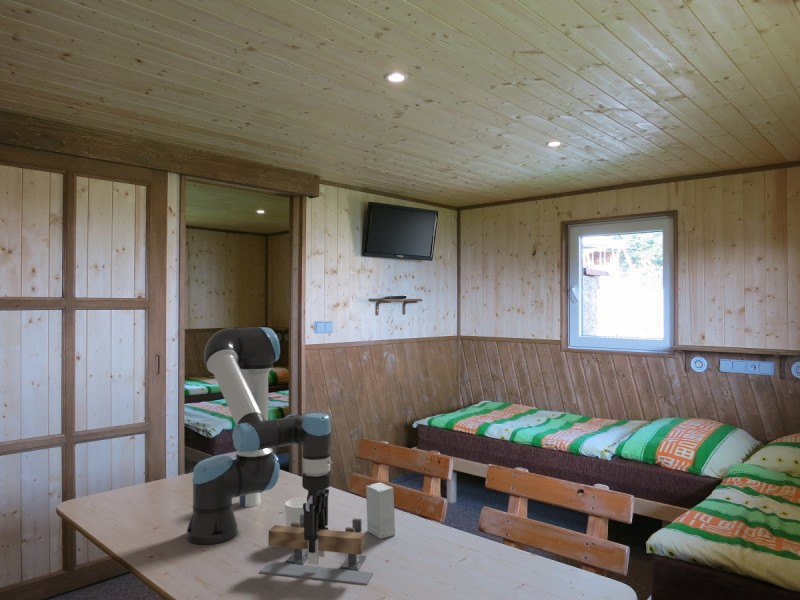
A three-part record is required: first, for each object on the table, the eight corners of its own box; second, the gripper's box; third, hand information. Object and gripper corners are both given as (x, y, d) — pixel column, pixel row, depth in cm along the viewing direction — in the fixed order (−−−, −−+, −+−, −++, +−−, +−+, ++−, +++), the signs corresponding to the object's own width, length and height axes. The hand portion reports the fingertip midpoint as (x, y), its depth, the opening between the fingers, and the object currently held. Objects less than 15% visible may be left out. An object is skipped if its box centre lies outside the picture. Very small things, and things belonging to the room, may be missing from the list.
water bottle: (267, 501, 208) (267, 433, 209) (249, 508, 201) (249, 438, 201) (251, 497, 213) (251, 430, 213) (233, 504, 205) (233, 435, 206)
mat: (259, 572, 153) (259, 571, 153) (269, 562, 159) (269, 561, 159) (366, 584, 146) (366, 583, 146) (373, 574, 152) (373, 572, 152)
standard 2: (340, 568, 155) (340, 528, 155) (349, 556, 163) (349, 517, 163) (358, 570, 154) (358, 530, 154) (366, 557, 162) (366, 519, 162)
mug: (303, 549, 167) (302, 508, 168) (279, 544, 172) (279, 504, 172) (326, 535, 178) (325, 496, 178) (304, 530, 182) (303, 493, 182)
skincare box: (395, 535, 178) (395, 488, 178) (379, 540, 174) (379, 491, 175) (381, 526, 185) (381, 481, 185) (365, 530, 182) (365, 484, 182)
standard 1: (285, 562, 159) (286, 523, 159) (297, 550, 167) (297, 513, 167) (302, 564, 158) (302, 524, 158) (313, 552, 165) (313, 514, 166)
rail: (268, 545, 153) (268, 530, 154) (274, 539, 157) (274, 525, 157) (360, 554, 148) (360, 539, 148) (365, 548, 152) (365, 533, 152)
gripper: (318, 482, 144) (318, 575, 143) (339, 464, 160) (339, 547, 160) (290, 480, 145) (290, 572, 145) (314, 462, 162) (314, 545, 162)
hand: (316, 559), depth 153 cm, fingers closed on rail, 4 cm apart
